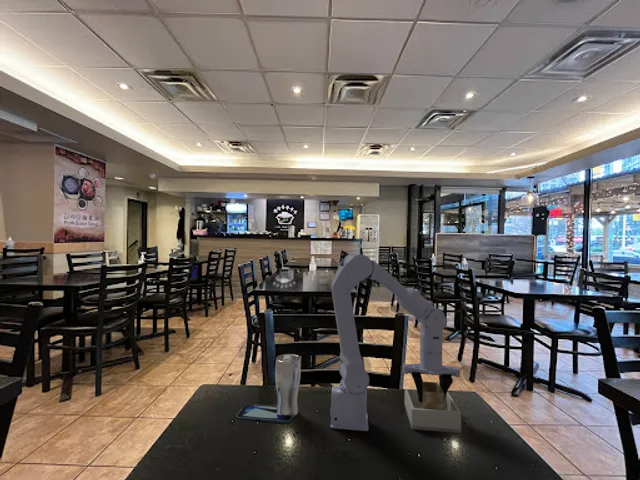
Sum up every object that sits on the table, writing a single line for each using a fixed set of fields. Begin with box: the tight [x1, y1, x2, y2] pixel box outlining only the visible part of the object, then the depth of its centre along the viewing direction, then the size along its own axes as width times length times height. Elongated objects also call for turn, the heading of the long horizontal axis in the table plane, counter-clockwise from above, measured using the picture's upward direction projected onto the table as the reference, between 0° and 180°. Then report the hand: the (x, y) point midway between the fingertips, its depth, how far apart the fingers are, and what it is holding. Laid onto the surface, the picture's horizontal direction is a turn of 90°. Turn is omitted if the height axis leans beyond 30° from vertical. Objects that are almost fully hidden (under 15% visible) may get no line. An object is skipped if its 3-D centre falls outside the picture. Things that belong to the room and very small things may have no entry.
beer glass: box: [274, 353, 302, 418], centre depth 86 cm, size 7×7×15 cm
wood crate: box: [420, 380, 444, 410], centre depth 85 cm, size 5×7×6 cm
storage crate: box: [404, 388, 462, 434], centre depth 85 cm, size 12×12×5 cm
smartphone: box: [235, 403, 294, 425], centre depth 86 cm, size 7×1×15 cm
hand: (430, 401), depth 85 cm, fingers closed on wood crate, 5 cm apart
